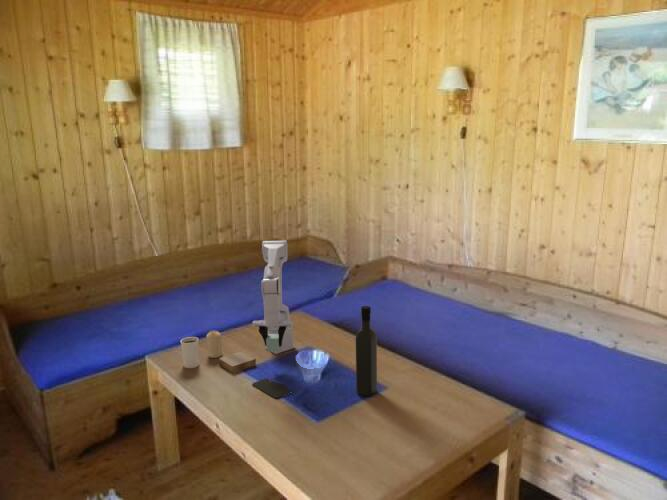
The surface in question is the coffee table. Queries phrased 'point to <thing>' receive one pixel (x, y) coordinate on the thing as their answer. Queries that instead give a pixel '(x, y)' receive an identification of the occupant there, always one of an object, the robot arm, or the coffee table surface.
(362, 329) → the wine bottle
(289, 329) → the robot arm
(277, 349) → the painted block
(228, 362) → the walnut base
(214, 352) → the candle
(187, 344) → the beige cup
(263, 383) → the phone
